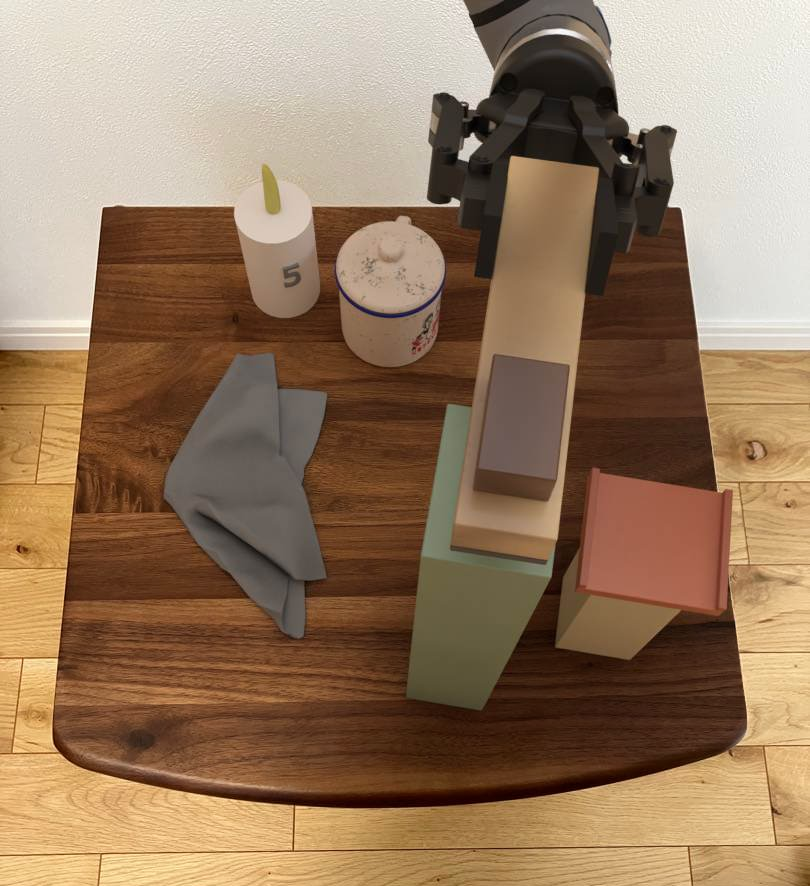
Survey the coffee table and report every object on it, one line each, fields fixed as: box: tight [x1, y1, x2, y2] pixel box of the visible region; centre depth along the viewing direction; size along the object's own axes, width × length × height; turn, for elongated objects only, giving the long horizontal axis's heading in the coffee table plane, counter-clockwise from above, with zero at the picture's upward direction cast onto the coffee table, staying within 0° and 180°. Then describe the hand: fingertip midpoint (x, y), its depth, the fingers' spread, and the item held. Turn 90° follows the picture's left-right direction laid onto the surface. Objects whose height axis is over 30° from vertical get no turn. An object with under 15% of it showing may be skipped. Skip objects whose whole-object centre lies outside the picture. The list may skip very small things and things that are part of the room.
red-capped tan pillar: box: [554, 467, 734, 661], centre depth 68 cm, size 9×8×19 cm
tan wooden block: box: [450, 156, 599, 565], centre depth 40 cm, size 4×18×5 cm, turn 171°
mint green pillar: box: [405, 403, 556, 712], centre depth 60 cm, size 6×8×33 cm
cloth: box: [163, 352, 328, 640], centre depth 79 cm, size 26×14×2 cm, turn 0°
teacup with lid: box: [334, 215, 447, 368], centre depth 81 cm, size 12×9×12 cm
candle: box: [233, 163, 321, 319], centre depth 80 cm, size 6×6×15 cm
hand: (544, 255), depth 40 cm, fingers closed on tan wooden block, 4 cm apart
